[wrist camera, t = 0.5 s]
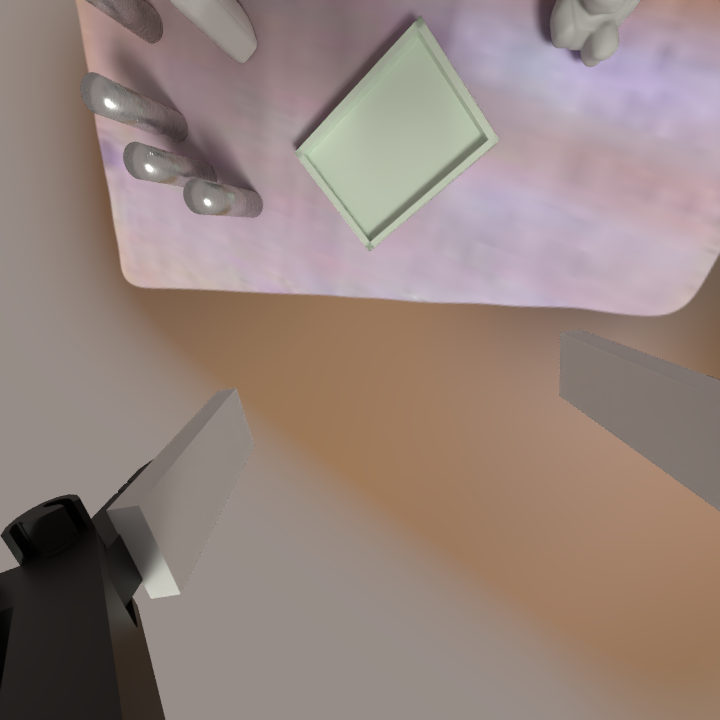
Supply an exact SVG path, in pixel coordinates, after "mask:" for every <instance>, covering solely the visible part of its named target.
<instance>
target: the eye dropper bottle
mask: <svg viewBox="0 0 720 720" xmlns="http://www.w3.org/2000/svg"><path fill="white" fill-rule="evenodd" d="M169 1H170V2H171V3H172V4H173V5H174V6H175V7H176V8H177V9H178V10H179V11H180V12H181V13H182V14H183V15H184V16H186V17H187V18H188V19H189V20H190V21H191V22H192V23H193V24H194V25H196V26H197V27H198V28H199V29H200V30H201V31H202V32H203V33H204V34H206V35H207V36H208V37H209V38H210V39H211V40H212V41H213V42H214V43H216V44H217V45H218V46H219V47H220V48H221V49H222V50H223V51H225V52H226V53H227V54H228V55H229V56H230V57H231V58H233V59H234V60H236V61H237V62H239V63H245V62H246V61H247V60H248V59H249V58H250V56H251V55H252V54H253V53H254V52H255V50H256V48H257V39H256V36H255V33H254V30H253V27H252V25H251V22H250V20H249V18H248V16H247V15H246V13H245V11H244V10H243V8H242V7H241V6H240V4H239V3H238V2H237V1H236V0H169Z"/></svg>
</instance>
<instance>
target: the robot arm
mask: <svg viewBox="0 0 720 720" xmlns="http://www.w3.org/2000/svg"><path fill="white" fill-rule="evenodd" d="M560 396H561V397H562V398H563V399H565V400H566V401H568V402H569V403H570V404H572V405H573V406H575V407H576V408H577V409H579V410H580V411H581V412H583V413H584V414H586V415H587V416H588V417H590V418H591V419H593V420H594V421H595V422H597V423H598V424H599V425H601V426H602V427H604V428H605V429H606V430H608V431H609V432H611V433H612V434H613V435H615V436H616V437H618V438H619V439H620V440H622V441H623V442H625V443H626V444H627V445H629V446H630V447H631V448H633V449H634V450H636V451H637V452H638V453H640V454H641V455H642V456H644V457H645V458H647V459H648V460H650V461H651V462H652V463H654V464H655V465H656V466H658V467H659V468H661V469H662V470H663V471H665V472H666V473H668V474H669V475H670V476H672V477H673V478H674V479H676V480H677V481H679V482H680V483H681V484H683V485H684V486H685V487H687V488H688V489H690V490H691V491H692V492H694V493H696V495H698V496H699V497H701V498H702V499H704V500H705V501H706V502H708V503H709V504H710V505H712V506H713V507H715V508H716V509H717V510H719V511H720V380H719V379H717V378H714V377H711V376H708V375H704V374H702V373H699V372H696V371H694V370H691V369H688V368H685V367H682V366H680V365H677V364H674V363H672V362H669V361H666V360H663V359H660V358H658V357H655V356H652V355H650V354H647V353H644V352H641V351H638V350H636V349H633V348H630V347H628V346H625V345H622V344H619V343H617V342H614V341H611V340H608V339H605V338H603V337H600V336H597V335H595V334H591V333H589V332H586V331H584V330H581V329H578V330H572V331H567V332H561V333H560ZM253 447H254V443H253V440H252V437H251V433H250V430H249V427H248V424H247V421H246V417H245V414H244V411H243V408H242V405H241V402H240V398H239V395H238V392H237V389H236V388H232V389H226V390H220V391H218V392H216V394H215V395H214V396H213V397H212V398H211V399H210V400H209V401H208V402H207V403H206V404H205V405H204V406H203V408H201V410H200V411H199V412H198V413H197V414H196V415H195V416H194V417H193V418H192V419H191V420H190V422H188V423H187V425H186V426H185V427H184V428H183V429H182V430H181V431H180V432H179V433H178V434H177V435H176V436H175V437H174V438H173V439H172V441H171V442H170V443H169V444H168V445H167V446H166V447H165V448H164V449H163V450H162V451H161V452H160V453H159V454H158V456H157V457H156V458H155V459H153V460H152V461H150V462H149V463H147V464H146V465H144V466H143V467H142V468H140V469H139V470H138V471H137V472H136V473H135V474H134V475H133V476H132V477H131V478H130V479H129V480H128V481H127V483H126V484H124V485H123V486H122V487H121V488H120V489H119V490H118V493H116V494H115V495H114V496H113V497H112V498H111V499H110V500H109V501H108V502H107V503H106V504H105V505H104V506H103V507H102V508H101V509H100V510H99V511H98V512H97V513H96V514H95V515H94V516H93V518H92V519H91V518H90V516H89V514H88V513H87V511H86V509H85V507H84V505H83V503H82V502H81V500H80V498H79V497H78V496H77V495H70V494H69V495H65V496H60V497H56V498H54V499H51V500H48V501H46V502H43V503H41V504H40V505H38V506H36V507H34V508H32V509H30V510H28V511H27V512H25V513H24V514H22V515H21V516H19V517H18V518H16V519H15V520H14V521H13V522H12V523H10V524H9V525H8V526H7V527H6V528H5V530H4V531H3V533H2V534H1V537H2V538H3V540H4V541H5V543H6V545H7V546H8V548H9V549H10V551H11V552H12V554H13V555H14V557H15V558H16V560H17V561H18V563H19V564H20V566H19V567H16V568H13V569H10V570H8V571H5V572H2V573H0V720H165V716H164V712H163V708H162V704H161V700H160V696H159V692H158V687H157V683H156V679H155V675H154V671H153V668H152V663H151V659H150V655H149V651H148V646H147V643H146V638H145V634H144V630H143V627H142V622H141V618H140V614H139V610H138V606H137V604H136V602H135V601H134V599H133V597H132V596H133V595H134V593H135V591H136V590H137V588H138V587H139V585H140V584H141V582H143V584H144V586H145V588H146V590H147V592H148V593H149V596H150V598H151V599H152V598H158V597H165V596H172V595H178V594H181V593H182V591H183V589H184V587H185V585H186V582H187V581H188V579H189V577H190V575H191V572H192V571H193V568H194V566H195V564H196V562H197V560H198V558H199V556H200V554H201V552H202V550H203V548H204V546H205V544H206V542H207V540H208V538H209V536H210V534H211V532H212V530H213V528H214V526H215V524H216V522H217V520H218V518H219V516H220V514H221V512H222V510H223V508H224V506H225V504H226V502H227V500H228V498H229V496H230V494H231V492H232V490H233V488H234V486H235V483H236V482H237V480H238V478H239V476H240V474H241V472H242V470H243V467H244V465H245V464H246V462H247V460H248V457H249V455H250V453H251V451H252V449H253Z"/></svg>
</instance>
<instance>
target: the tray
mask: <svg viewBox="0 0 720 720" xmlns="http://www.w3.org/2000/svg"><path fill="white" fill-rule="evenodd" d="M498 141H499V139H498V138H497V136H496V134H495V133H494V131H493V130H492V128H491V126H490V125H489V123H488V122H487V120H486V119H485V117H484V115H483V114H482V112H481V111H480V109H479V107H478V106H477V104H476V103H475V101H474V100H473V98H472V96H471V95H470V93H469V92H468V90H467V89H466V87H465V85H464V84H463V82H462V81H461V79H460V77H459V76H458V74H457V73H456V71H455V70H454V68H453V66H452V65H451V63H450V62H449V60H448V58H447V57H446V55H445V54H444V52H443V51H442V49H441V47H440V46H439V44H438V43H437V41H436V40H435V38H434V36H433V35H432V33H431V32H430V30H429V28H428V27H427V25H426V24H425V22H424V21H423V19H422V17H421V16H419V17H418V19H417V20H416V21H415V22H414V23H413V24H412V25H411V26H410V27H409V28H408V29H407V31H406V32H405V33H404V34H403V35H402V36H401V37H400V38H399V39H398V40H397V41H396V43H395V44H394V45H393V46H392V47H391V48H390V49H389V50H388V51H387V52H386V54H385V55H384V56H383V57H382V58H381V59H380V60H379V61H378V62H377V63H376V64H375V66H374V67H373V68H372V69H371V70H370V71H369V72H368V73H367V74H366V75H365V76H364V78H363V79H362V80H361V81H360V82H359V83H358V84H357V85H356V86H355V87H354V88H353V90H352V91H351V92H350V93H349V94H348V95H347V96H346V97H345V98H344V99H343V100H342V102H341V103H340V104H339V105H338V106H337V107H336V108H335V109H334V110H333V111H332V113H331V114H330V115H329V116H328V117H327V118H326V119H325V120H324V121H323V122H322V123H321V125H320V126H319V127H318V128H317V129H316V130H315V131H314V132H313V133H312V134H311V135H310V137H309V138H308V139H307V140H306V141H305V142H304V143H303V144H302V145H301V146H300V147H299V149H298V150H297V151H296V152H295V153H294V154H295V155H296V156H297V157H298V159H299V160H300V161H301V163H302V164H303V165H304V167H305V168H306V169H307V171H308V172H309V173H310V175H311V176H312V177H313V178H314V180H315V181H316V182H317V184H318V185H319V186H320V188H321V189H322V190H323V192H324V193H325V194H326V196H327V197H328V198H329V199H330V201H331V202H332V203H333V205H334V206H335V207H336V209H337V210H338V211H339V213H340V214H341V215H342V217H343V218H344V219H345V221H346V222H347V223H348V224H349V226H350V227H351V228H352V230H353V231H354V232H355V234H356V235H357V236H358V238H359V239H360V240H361V242H362V243H363V244H364V245H365V247H366V248H367V249H368V251H371V250H373V249H374V248H375V247H376V246H377V245H378V244H380V243H381V242H382V241H383V240H384V239H385V238H387V237H388V236H389V235H390V234H391V233H393V232H394V231H395V230H396V229H397V228H398V227H400V226H401V225H402V224H403V223H404V222H405V221H407V220H408V219H409V218H410V217H411V216H412V215H414V214H415V213H416V212H417V211H418V210H420V209H421V208H422V207H423V206H424V205H425V204H427V203H428V202H429V201H430V200H431V199H432V198H434V197H435V196H436V195H437V194H438V193H440V192H441V191H442V190H443V189H444V188H445V187H447V186H448V185H449V184H450V183H451V182H452V181H454V180H455V179H456V178H457V177H458V176H459V175H461V174H462V173H463V172H464V171H465V170H467V169H468V168H469V167H470V166H471V165H472V164H474V163H475V162H476V161H477V160H478V159H479V158H481V157H482V156H483V155H484V154H485V153H486V152H488V151H489V150H490V149H491V148H492V147H494V146H495V145H496V143H497V142H498Z"/></svg>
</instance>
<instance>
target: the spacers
mask: <svg viewBox="0 0 720 720" xmlns="http://www.w3.org/2000/svg"><path fill="white" fill-rule="evenodd" d="M86 1H87V2H89V3H90V4H92V5H93V6H95V7H96V8H97V9H99V10H100V11H102V12H103V13H105V14H106V15H108V16H109V17H111V18H112V19H114V20H115V21H117V22H118V23H120V24H121V25H123V26H124V27H125V28H127V29H128V30H130V31H131V32H133V33H134V34H136V35H137V36H139V37H140V38H142V39H143V40H145V41H146V42H148V43H156V42H158V41H159V40H160V38H161V36H162V32H163V24H162V20H161V17H160V15H159V14H158V12H157V11H156V10H155V9H153V8H152V7H151V6H150V5H148V4H147V3H146V2H145V1H144V0H86ZM81 95H82V98H83V101H84V103H85V104H86V106H87V107H88V108H89V109H90V110H91V111H92V112H94V113H96V114H99V115H101V116H104V117H107V118H110V119H113V120H116V121H118V122H121V123H124V124H127V125H130V126H133V127H135V128H138V129H141V130H144V131H147V132H150V133H152V134H155V135H158V136H161V137H164V138H167V139H169V140H172V141H175V142H181V141H183V140H184V139H185V138H186V136H187V133H188V125H187V122H186V120H185V118H184V117H183V115H182V114H180V113H179V112H177V111H175V110H173V109H171V108H168V107H166V106H164V105H162V104H160V103H158V102H156V101H154V100H152V99H150V98H148V97H145V96H143V95H141V94H139V93H137V92H135V91H133V90H131V89H129V88H127V87H124V86H122V85H120V84H118V83H116V82H114V81H112V80H110V79H108V78H106V77H104V76H101V75H99V74H97V73H94V72H91V73H88V74H86V75H85V76H84V77H83V79H82V82H81ZM123 159H124V164H125V166H126V168H127V170H128V172H129V173H130V174H131V175H132V176H133V177H135V178H137V179H140V180H146V181H152V182H158V183H163V184H169V185H175V186H181V187H184V192H183V195H184V200H185V203H186V204H187V206H188V207H189V209H190V210H191V211H193V212H194V213H197V214H204V215H219V216H234V217H250V218H254V217H257V216H258V215H259V214H260V213H261V211H262V208H263V203H262V199H261V197H260V196H259V194H258V193H256V192H255V191H252V190H248V189H243V188H239V187H235V186H230V185H226V184H221V183H217V175H216V172H215V170H214V168H213V167H212V166H211V165H209V164H208V163H204V162H201V161H198V160H195V159H191V158H188V157H185V156H181V155H178V154H175V153H172V152H168V151H165V150H162V149H158V148H155V147H152V146H149V145H145V144H142V143H139V142H132V143H129V144H128V145H127V146H126V148H125V150H124V154H123Z"/></svg>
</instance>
